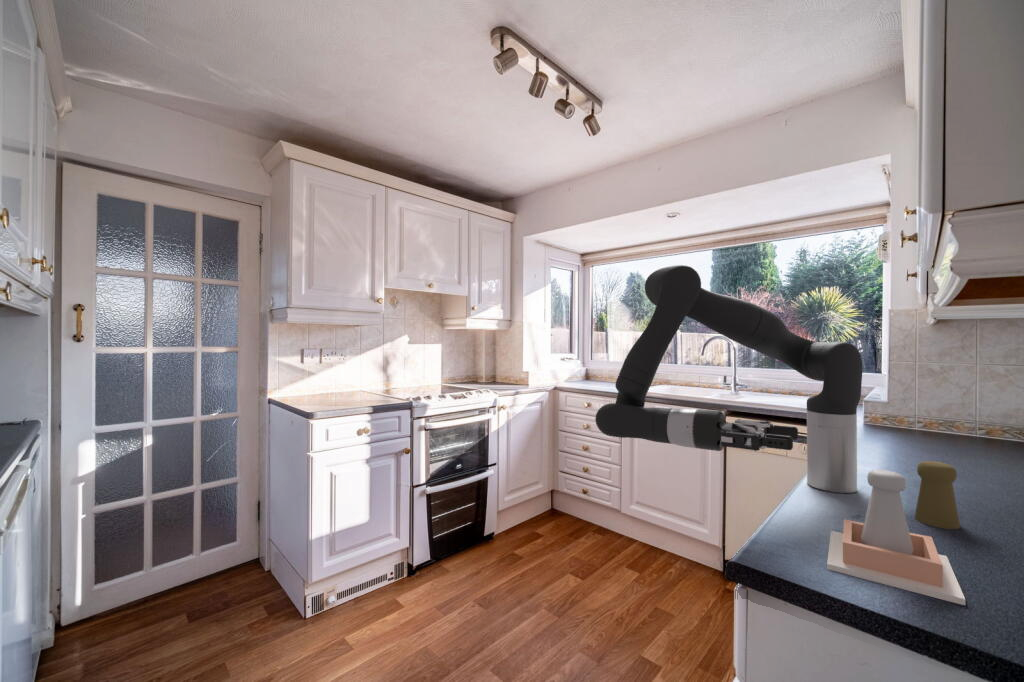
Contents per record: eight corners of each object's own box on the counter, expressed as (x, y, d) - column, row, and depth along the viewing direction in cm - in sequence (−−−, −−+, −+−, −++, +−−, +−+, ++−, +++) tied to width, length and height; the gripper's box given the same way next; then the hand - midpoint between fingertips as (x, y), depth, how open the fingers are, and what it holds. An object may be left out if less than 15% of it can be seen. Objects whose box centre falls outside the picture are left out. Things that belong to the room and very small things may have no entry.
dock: (831, 535, 73) (831, 513, 73) (946, 561, 65) (946, 536, 65) (827, 569, 63) (827, 542, 63) (965, 605, 54) (965, 575, 54)
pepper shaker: (968, 526, 77) (968, 465, 77) (947, 531, 75) (946, 468, 75) (927, 513, 83) (927, 456, 83) (906, 517, 81) (906, 459, 81)
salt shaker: (907, 574, 60) (906, 480, 60) (856, 557, 64) (855, 470, 64) (917, 561, 63) (917, 473, 63) (868, 546, 68) (868, 464, 68)
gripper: (684, 414, 78) (790, 423, 68) (705, 404, 89) (798, 410, 79) (685, 456, 78) (791, 470, 68) (706, 440, 89) (799, 451, 79)
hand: (795, 438), depth 73 cm, fingers open, 8 cm apart
